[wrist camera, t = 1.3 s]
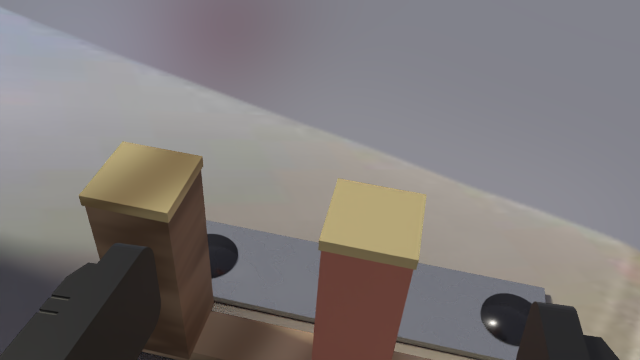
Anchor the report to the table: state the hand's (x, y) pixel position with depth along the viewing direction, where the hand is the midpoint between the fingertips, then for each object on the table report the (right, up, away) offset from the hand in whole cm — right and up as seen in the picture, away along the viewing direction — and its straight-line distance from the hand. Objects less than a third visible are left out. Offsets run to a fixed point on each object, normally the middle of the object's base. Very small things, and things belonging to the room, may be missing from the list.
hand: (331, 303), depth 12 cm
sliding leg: (+2, -8, +21) cm, 22 cm away
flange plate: (+2, -5, +27) cm, 27 cm away
